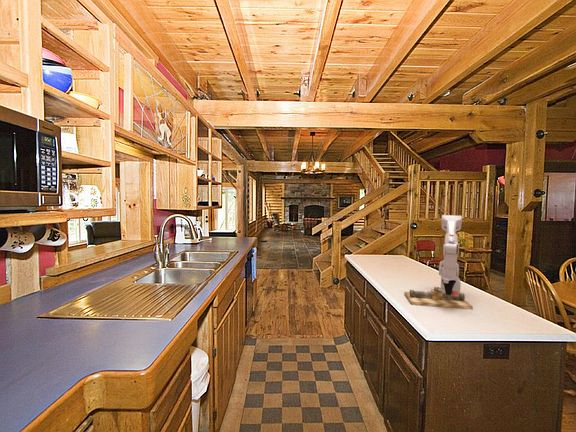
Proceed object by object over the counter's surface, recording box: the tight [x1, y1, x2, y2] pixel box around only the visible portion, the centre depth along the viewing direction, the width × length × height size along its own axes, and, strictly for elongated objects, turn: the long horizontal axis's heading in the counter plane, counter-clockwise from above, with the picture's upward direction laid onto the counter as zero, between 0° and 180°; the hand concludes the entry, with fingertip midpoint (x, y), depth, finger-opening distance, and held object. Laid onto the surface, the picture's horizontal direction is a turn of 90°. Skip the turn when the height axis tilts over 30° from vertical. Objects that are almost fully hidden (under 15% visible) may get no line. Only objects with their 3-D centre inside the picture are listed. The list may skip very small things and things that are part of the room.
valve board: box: [403, 288, 473, 310], centre depth 154 cm, size 28×16×6 cm, turn 80°
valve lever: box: [433, 286, 459, 295], centre depth 150 cm, size 11×2×1 cm, turn 43°
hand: (448, 294), depth 148 cm, fingers closed
